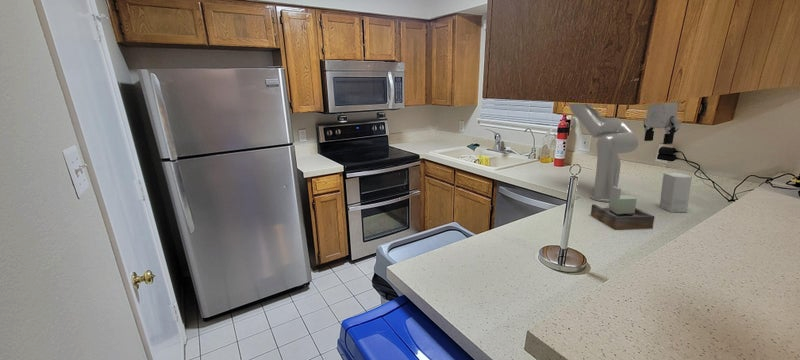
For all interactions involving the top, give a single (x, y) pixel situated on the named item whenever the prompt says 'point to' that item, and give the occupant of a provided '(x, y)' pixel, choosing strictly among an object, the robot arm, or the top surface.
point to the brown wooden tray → (623, 219)
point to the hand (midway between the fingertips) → (657, 142)
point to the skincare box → (675, 192)
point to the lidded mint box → (621, 203)
